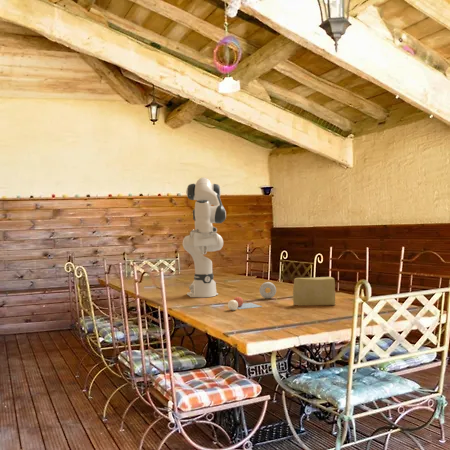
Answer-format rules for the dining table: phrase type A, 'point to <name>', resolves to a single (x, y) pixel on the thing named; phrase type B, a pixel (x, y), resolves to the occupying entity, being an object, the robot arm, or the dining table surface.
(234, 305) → the cue ball
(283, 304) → the dining table surface
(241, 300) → the red ball
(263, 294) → the donut
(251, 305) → the mark
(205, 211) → the robot arm
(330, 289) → the olive tan box
